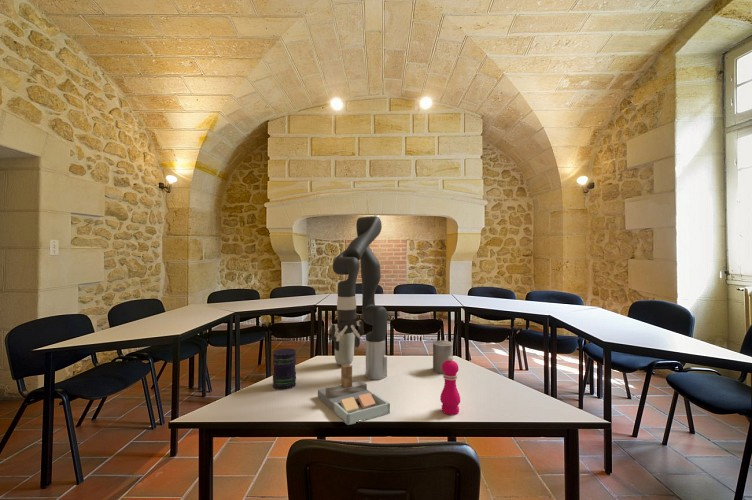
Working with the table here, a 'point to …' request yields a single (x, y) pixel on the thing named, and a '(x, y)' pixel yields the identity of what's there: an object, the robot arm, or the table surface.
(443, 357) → the pillar candle
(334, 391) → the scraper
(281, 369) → the storage jar
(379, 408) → the tray
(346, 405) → the tile
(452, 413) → the pepper mill
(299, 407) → the table surface
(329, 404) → the board
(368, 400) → the tile
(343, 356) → the grey bottle
